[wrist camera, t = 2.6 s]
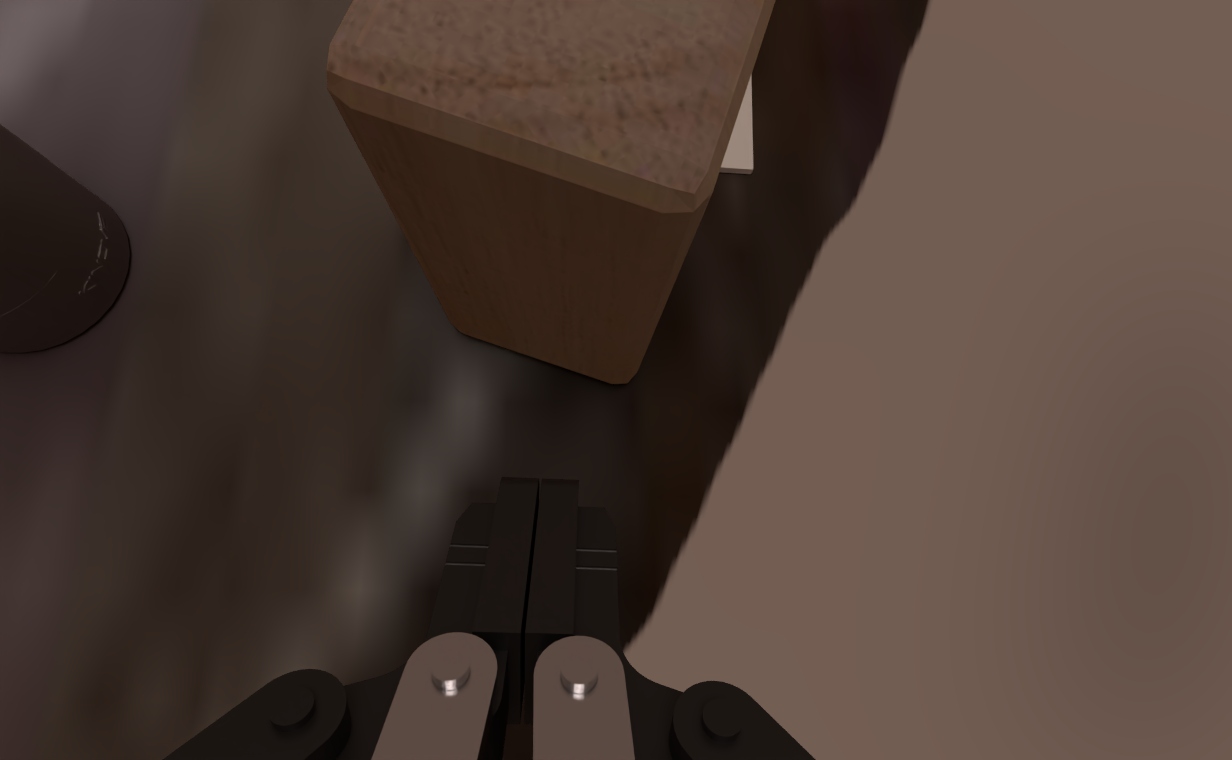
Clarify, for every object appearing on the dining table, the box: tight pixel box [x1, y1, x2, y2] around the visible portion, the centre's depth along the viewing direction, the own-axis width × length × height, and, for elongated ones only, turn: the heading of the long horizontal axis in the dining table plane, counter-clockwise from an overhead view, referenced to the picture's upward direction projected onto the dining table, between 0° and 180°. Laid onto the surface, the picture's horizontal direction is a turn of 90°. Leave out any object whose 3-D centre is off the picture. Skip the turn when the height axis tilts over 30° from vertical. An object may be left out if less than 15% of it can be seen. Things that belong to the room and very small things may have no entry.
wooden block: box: [327, 0, 775, 384], centre depth 26 cm, size 10×10×20 cm
